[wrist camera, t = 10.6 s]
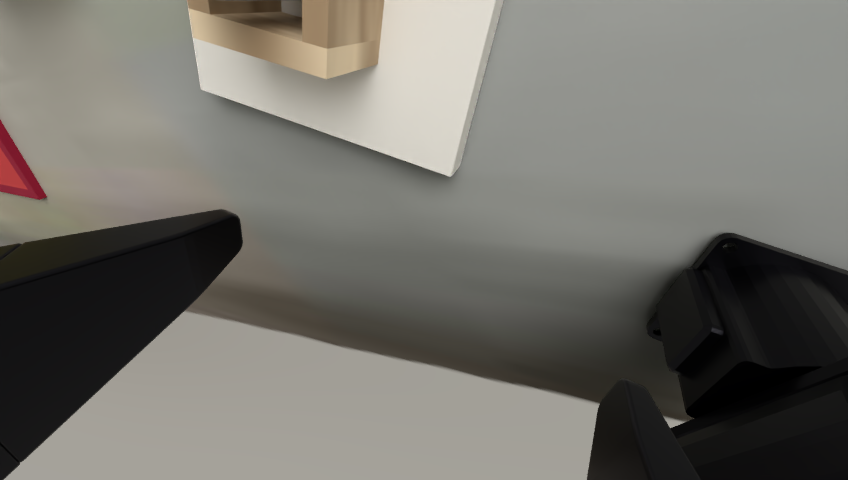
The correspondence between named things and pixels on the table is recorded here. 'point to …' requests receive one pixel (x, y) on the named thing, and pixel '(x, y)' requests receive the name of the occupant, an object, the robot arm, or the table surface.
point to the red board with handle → (16, 170)
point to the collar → (295, 32)
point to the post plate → (378, 82)
